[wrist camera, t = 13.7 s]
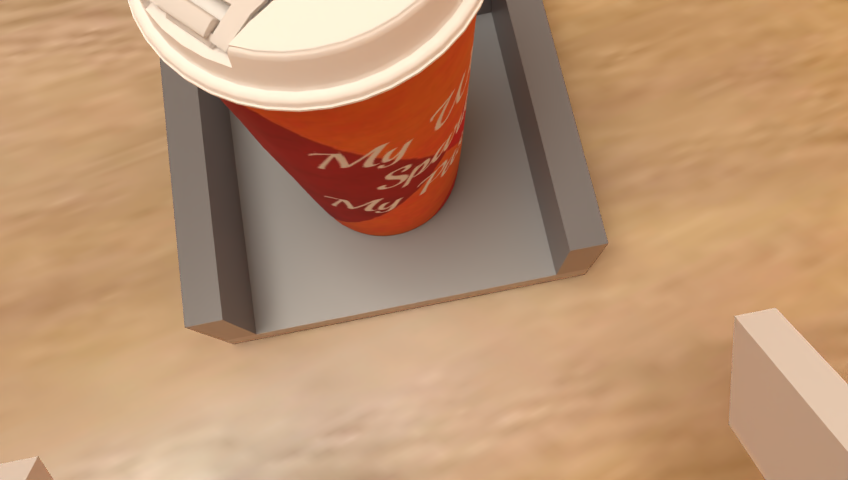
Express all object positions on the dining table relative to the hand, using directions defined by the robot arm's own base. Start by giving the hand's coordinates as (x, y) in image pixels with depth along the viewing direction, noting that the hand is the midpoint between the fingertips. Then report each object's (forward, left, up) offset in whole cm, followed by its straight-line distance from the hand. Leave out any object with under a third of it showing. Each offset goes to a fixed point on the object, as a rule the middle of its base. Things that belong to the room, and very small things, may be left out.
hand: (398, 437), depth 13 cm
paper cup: (-8, +6, -11) cm, 15 cm away
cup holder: (-8, +5, -12) cm, 15 cm away
